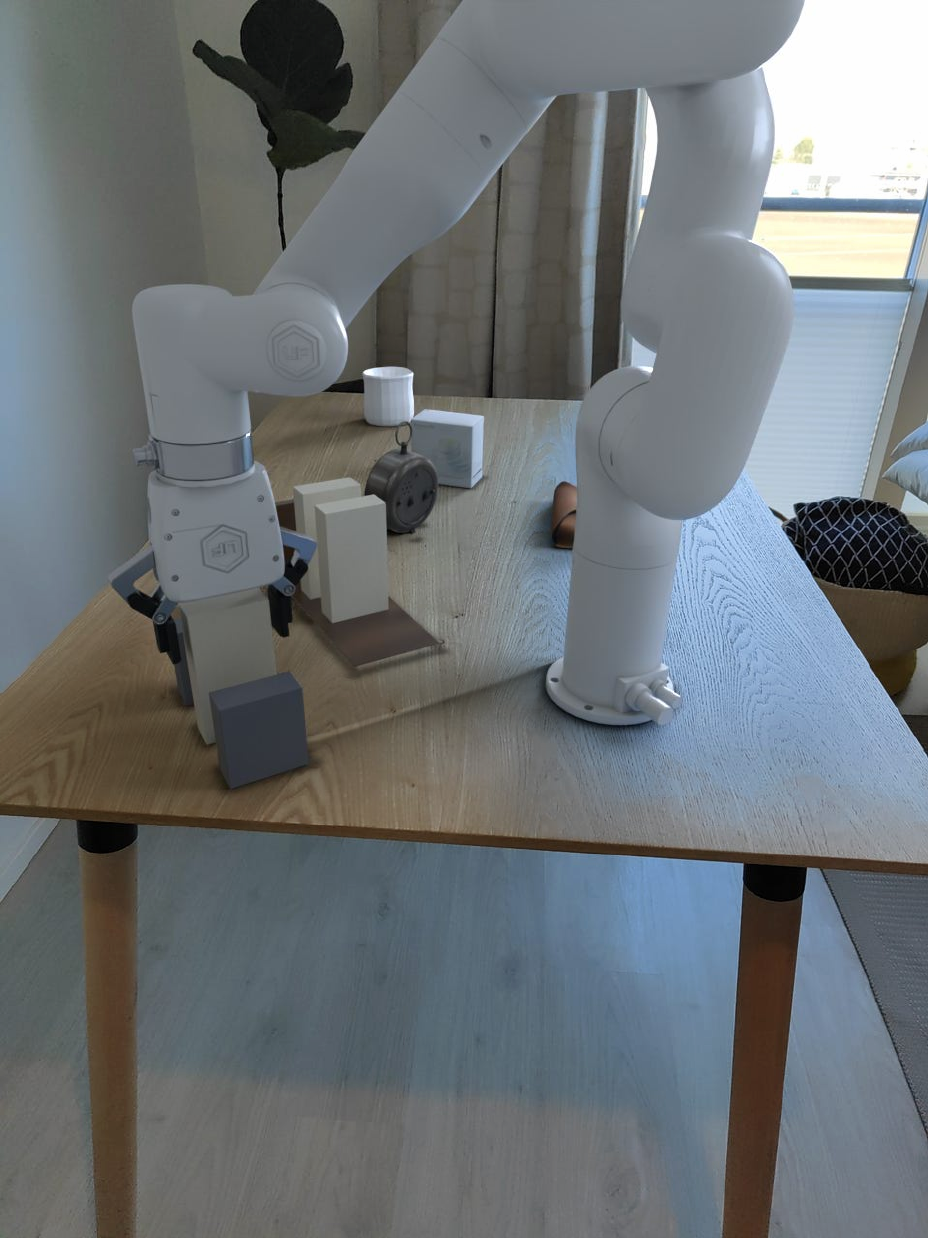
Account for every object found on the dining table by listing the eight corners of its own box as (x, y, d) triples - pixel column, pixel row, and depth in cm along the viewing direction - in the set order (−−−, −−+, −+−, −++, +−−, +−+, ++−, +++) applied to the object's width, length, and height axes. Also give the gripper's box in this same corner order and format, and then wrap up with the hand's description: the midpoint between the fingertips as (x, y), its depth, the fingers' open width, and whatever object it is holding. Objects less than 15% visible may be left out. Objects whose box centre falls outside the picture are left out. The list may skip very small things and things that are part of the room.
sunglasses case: (613, 548, 116) (592, 506, 114) (567, 569, 118) (545, 529, 116) (607, 501, 132) (588, 464, 129) (566, 521, 134) (547, 485, 132)
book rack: (440, 650, 92) (440, 575, 88) (355, 674, 88) (351, 596, 83) (337, 556, 113) (334, 491, 109) (264, 571, 109) (257, 505, 104)
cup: (423, 419, 173) (422, 369, 168) (393, 430, 165) (392, 379, 161) (385, 411, 177) (383, 363, 173) (354, 422, 170) (352, 372, 165)
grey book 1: (257, 687, 85) (249, 616, 81) (186, 706, 82) (174, 634, 78) (247, 673, 87) (239, 604, 84) (178, 691, 84) (166, 620, 80)
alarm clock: (416, 520, 125) (416, 409, 117) (444, 529, 122) (445, 417, 114) (363, 542, 117) (358, 425, 110) (391, 553, 114) (389, 434, 107)
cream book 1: (281, 723, 80) (269, 599, 74) (206, 745, 77) (187, 618, 71) (270, 707, 82) (257, 586, 76) (197, 728, 79) (177, 603, 73)
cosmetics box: (410, 481, 140) (409, 417, 135) (424, 469, 145) (424, 408, 140) (471, 489, 137) (472, 424, 132) (483, 477, 142) (485, 414, 137)
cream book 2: (365, 587, 103) (360, 484, 97) (310, 600, 100) (302, 494, 94) (354, 577, 105) (350, 476, 99) (301, 589, 102) (292, 486, 96)
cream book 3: (388, 609, 98) (385, 502, 92) (332, 623, 95) (325, 514, 89) (377, 599, 100) (374, 494, 94) (321, 612, 97) (314, 504, 91)
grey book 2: (309, 764, 75) (302, 687, 71) (230, 789, 71) (218, 710, 68) (296, 746, 77) (289, 670, 73) (219, 770, 74) (208, 692, 70)
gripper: (96, 485, 60) (135, 689, 68) (325, 452, 68) (336, 639, 76) (78, 456, 66) (116, 648, 74) (292, 428, 74) (305, 604, 82)
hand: (227, 643), depth 75 cm, fingers open, 9 cm apart
